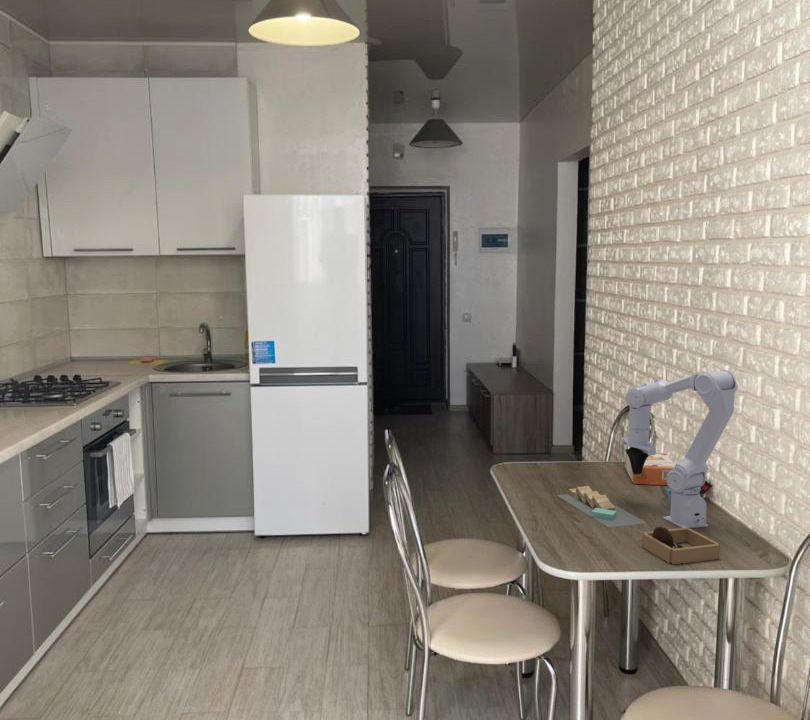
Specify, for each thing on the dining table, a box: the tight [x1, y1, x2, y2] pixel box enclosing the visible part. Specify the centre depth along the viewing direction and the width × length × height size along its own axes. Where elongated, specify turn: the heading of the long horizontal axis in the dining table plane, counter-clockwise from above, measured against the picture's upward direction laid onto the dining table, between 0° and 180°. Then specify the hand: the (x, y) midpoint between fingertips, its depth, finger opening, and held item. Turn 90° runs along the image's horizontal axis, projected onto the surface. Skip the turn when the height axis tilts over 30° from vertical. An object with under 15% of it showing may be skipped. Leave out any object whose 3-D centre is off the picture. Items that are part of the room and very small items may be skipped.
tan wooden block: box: [584, 490, 601, 509], centre depth 231 cm, size 2×4×6 cm
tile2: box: [592, 494, 615, 511], centre depth 227 cm, size 2×4×6 cm
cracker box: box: [624, 452, 676, 486], centre depth 264 cm, size 14×6×21 cm
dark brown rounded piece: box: [653, 525, 685, 549], centre depth 197 cm, size 8×8×7 cm
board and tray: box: [556, 493, 721, 565], centre depth 217 cm, size 56×15×4 cm, turn 17°
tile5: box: [567, 487, 582, 500], centre depth 240 cm, size 2×4×6 cm
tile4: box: [576, 485, 593, 504], centre depth 236 cm, size 2×4×6 cm
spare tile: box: [591, 508, 617, 521], centre depth 222 cm, size 2×4×6 cm
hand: (636, 473), depth 231 cm, fingers closed
